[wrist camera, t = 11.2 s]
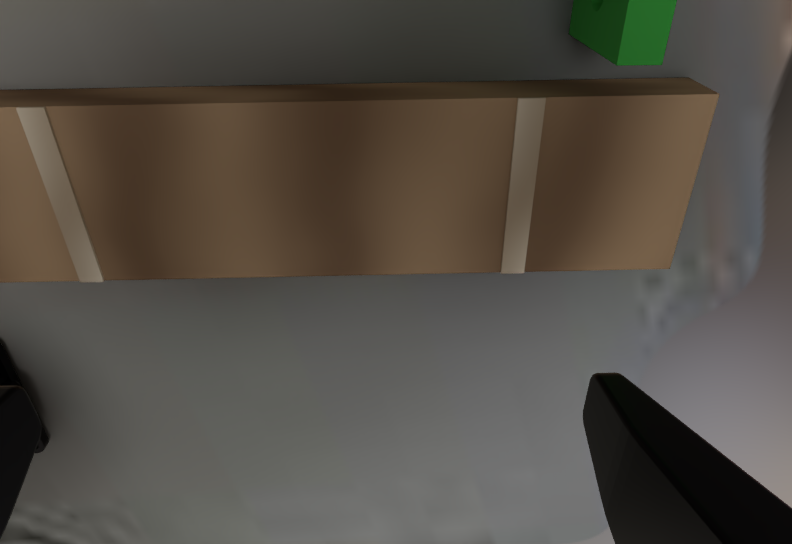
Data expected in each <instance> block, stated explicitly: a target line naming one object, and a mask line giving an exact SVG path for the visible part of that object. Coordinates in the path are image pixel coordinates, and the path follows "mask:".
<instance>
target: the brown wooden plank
mask: <svg viewBox="0 0 792 544" xmlns="http://www.w3.org/2000/svg"><path fill="white" fill-rule="evenodd" d="M718 98H719V94H718V93H717V92H715V91H713V90H711V89H709V88H707V87H705V86H703V85H702V84H700V83H698V82H696V81H694V80H692V79H690V78H636V79H581V80H526V81H471V82H416V83H362V84H307V85H252V86H197V87H142V88H88V89H33V90H0V282H49V281H80V282H104V281H105V280H146V279H195V278H243V277H292V276H341V275H389V274H438V273H486V272H501V274H513V273H524V272H535V271H584V270H632V269H670V266H671V262H672V259H673V255H674V252H675V248H676V245H677V241H678V238H679V234H680V231H681V227H682V224H683V220H684V217H685V213H686V210H687V206H688V203H689V199H690V196H691V192H692V189H693V185H694V182H695V178H696V175H697V171H698V168H699V164H700V161H701V157H702V154H703V150H704V147H705V143H706V140H707V136H708V133H709V129H710V126H711V122H712V119H713V115H714V112H715V108H716V105H717V101H718Z"/></svg>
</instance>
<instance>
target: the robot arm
mask: <svg viewBox="0 0 792 544" xmlns="http://www.w3.org/2000/svg"><path fill="white" fill-rule="evenodd" d="M583 423H584V428H585V432H586V436H587V441H588V445H589V449H590V453H591V458H592V462H593V466H594V470H595V474H596V479H597V483H598V487H599V491H600V496H601V500H602V504H603V508H604V511H605V515H606V518H607V521H608V524H609V527H610V530H611V533H612V536H613V539H614V541H615V544H792V508H791V507H789V506H788V505H787V504H786V503H784V502H783V501H782V500H781V499H779V498H778V497H777V496H775V495H774V494H773V493H772V492H770V491H769V490H768V489H767V488H765V487H764V486H763V485H761V484H760V483H759V482H758V481H756V480H755V479H754V478H753V477H751V476H750V475H748V474H747V473H746V472H745V471H744V470H742V469H741V468H740V467H739V466H737V465H736V464H735V463H734V462H732V461H731V460H729V459H728V458H727V457H726V456H725V455H723V454H722V453H721V452H720V451H718V450H717V449H716V448H714V447H713V446H712V445H711V444H709V443H708V442H707V441H706V440H704V439H703V438H702V437H700V436H699V435H698V434H697V433H695V432H694V431H693V430H691V429H690V428H689V427H687V426H686V425H685V424H684V423H682V422H681V421H680V420H679V419H678V418H676V417H675V416H674V415H672V414H671V413H670V412H669V411H667V410H666V409H665V408H664V407H662V406H661V405H660V404H658V403H657V402H656V401H655V400H653V399H652V398H651V397H650V396H648V395H647V394H646V393H644V392H643V391H642V390H641V389H639V388H638V387H637V386H636V385H634V384H633V383H632V382H630V381H629V380H628V379H627V378H625V377H624V376H623V375H621V374H619V373H596V374H594V375H592V377H591V379H590V382H589V387H588V391H587V396H586V400H585V404H584V409H583ZM48 442H49V440H48V437H47V435H46V433H45V431H44V429H43V427H42V425H41V421H40V419H39V417H38V415H37V413H36V410H35V408H34V406H33V404H32V402H31V400H30V398H29V396H28V394H27V392H26V391H25V389H24V388H23V386H22V384H21V382H20V380H19V378H18V376H17V374H16V372H15V370H14V368H13V366H12V364H11V362H10V360H9V358H8V356H7V354H6V352H5V350H4V348H3V346H2V345H1V343H0V539H1V537H2V535H3V533H4V530H5V528H6V526H7V523H8V521H9V519H10V516H11V514H12V511H13V509H14V506H15V503H16V501H17V498H18V495H19V493H20V490H21V487H22V485H23V482H24V479H25V477H26V474H27V471H28V469H29V466H30V463H31V461H32V458H33V456H34V453H40V452H42V451H43V450H44V449H45V447H46V446H47V444H48Z"/></svg>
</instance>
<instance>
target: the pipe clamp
mask: <svg viewBox="0 0 792 544" xmlns="http://www.w3.org/2000/svg"><path fill="white" fill-rule="evenodd" d="M676 2H677V0H574V1H573V8H572V15H571V22H570V29H569V34H570V35H571V36H573V37H574V38H576V39H577V40H579V41H580V42H582V43H583V44H585V45H586V46H588V47H589V48H591V49H592V50H594V51H595V52H597V53H598V54H600V55H601V56H603V57H604V58H606V59H608V60H609V61H611V62H612V63H614V64H615V65H662V63H663V58H664V54H665V50H666V45H667V41H668V37H669V32H670V28H671V23H672V19H673V15H674V10H675V6H676Z"/></svg>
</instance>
